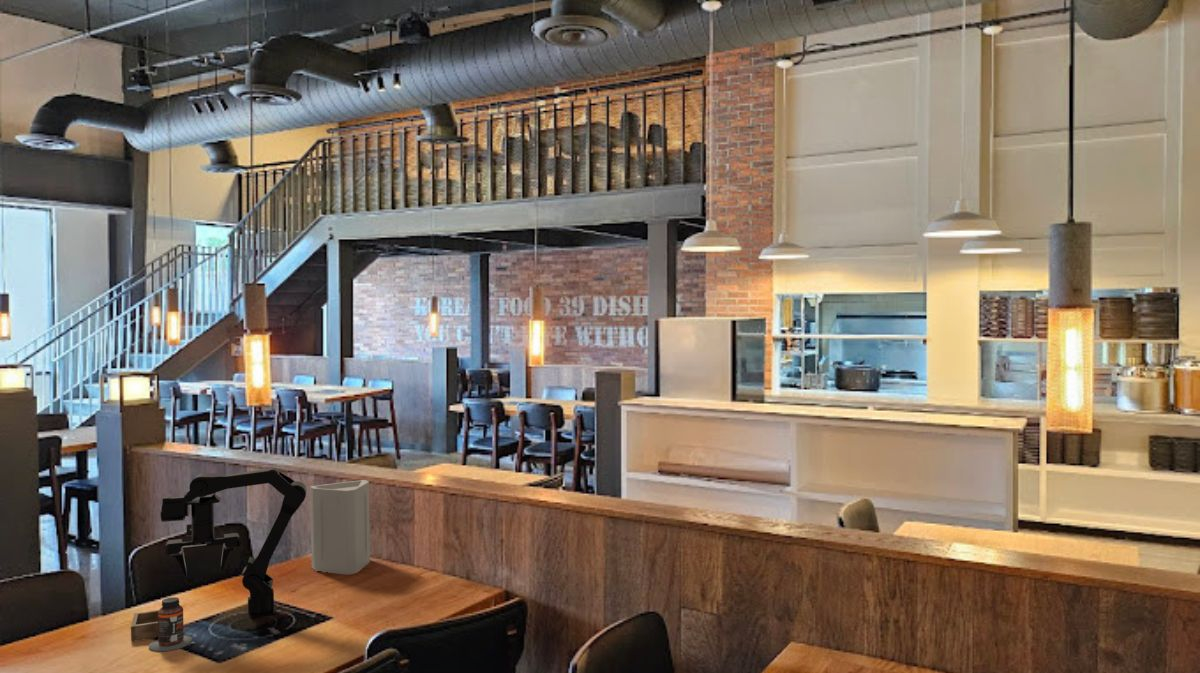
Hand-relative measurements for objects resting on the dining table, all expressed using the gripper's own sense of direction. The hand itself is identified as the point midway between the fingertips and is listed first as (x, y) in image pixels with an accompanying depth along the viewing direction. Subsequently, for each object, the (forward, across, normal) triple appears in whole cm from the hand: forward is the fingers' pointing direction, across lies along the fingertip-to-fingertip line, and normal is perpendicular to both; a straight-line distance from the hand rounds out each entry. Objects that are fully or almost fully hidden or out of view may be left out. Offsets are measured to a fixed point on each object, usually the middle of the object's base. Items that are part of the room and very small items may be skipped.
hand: (203, 573), depth 234 cm
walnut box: (+13, +12, +4) cm, 18 cm away
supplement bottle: (+13, +8, +16) cm, 22 cm away
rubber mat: (+13, +8, +16) cm, 22 cm away
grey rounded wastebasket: (+13, -43, -31) cm, 55 cm away
